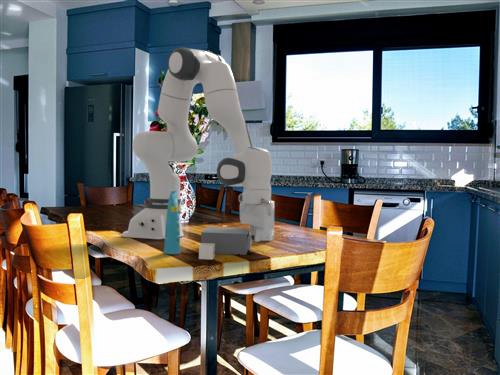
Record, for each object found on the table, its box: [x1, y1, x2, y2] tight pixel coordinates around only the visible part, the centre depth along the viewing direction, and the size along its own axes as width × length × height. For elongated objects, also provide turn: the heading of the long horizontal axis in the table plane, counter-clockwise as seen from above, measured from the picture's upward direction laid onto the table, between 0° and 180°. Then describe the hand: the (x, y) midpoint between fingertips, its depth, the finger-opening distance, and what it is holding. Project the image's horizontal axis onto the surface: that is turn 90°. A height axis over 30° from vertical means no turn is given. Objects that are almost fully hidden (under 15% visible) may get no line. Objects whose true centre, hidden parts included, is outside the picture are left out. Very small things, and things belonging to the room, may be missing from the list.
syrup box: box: [259, 200, 275, 242], centre depth 170 cm, size 6×6×14 cm
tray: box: [246, 232, 253, 251], centre depth 146 cm, size 13×11×4 cm
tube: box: [163, 190, 181, 255], centre depth 138 cm, size 7×5×19 cm, turn 3°
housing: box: [200, 226, 250, 256], centre depth 147 cm, size 14×14×6 cm
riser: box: [198, 242, 216, 260], centre depth 133 cm, size 4×4×4 cm
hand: (255, 241), depth 146 cm, fingers closed
